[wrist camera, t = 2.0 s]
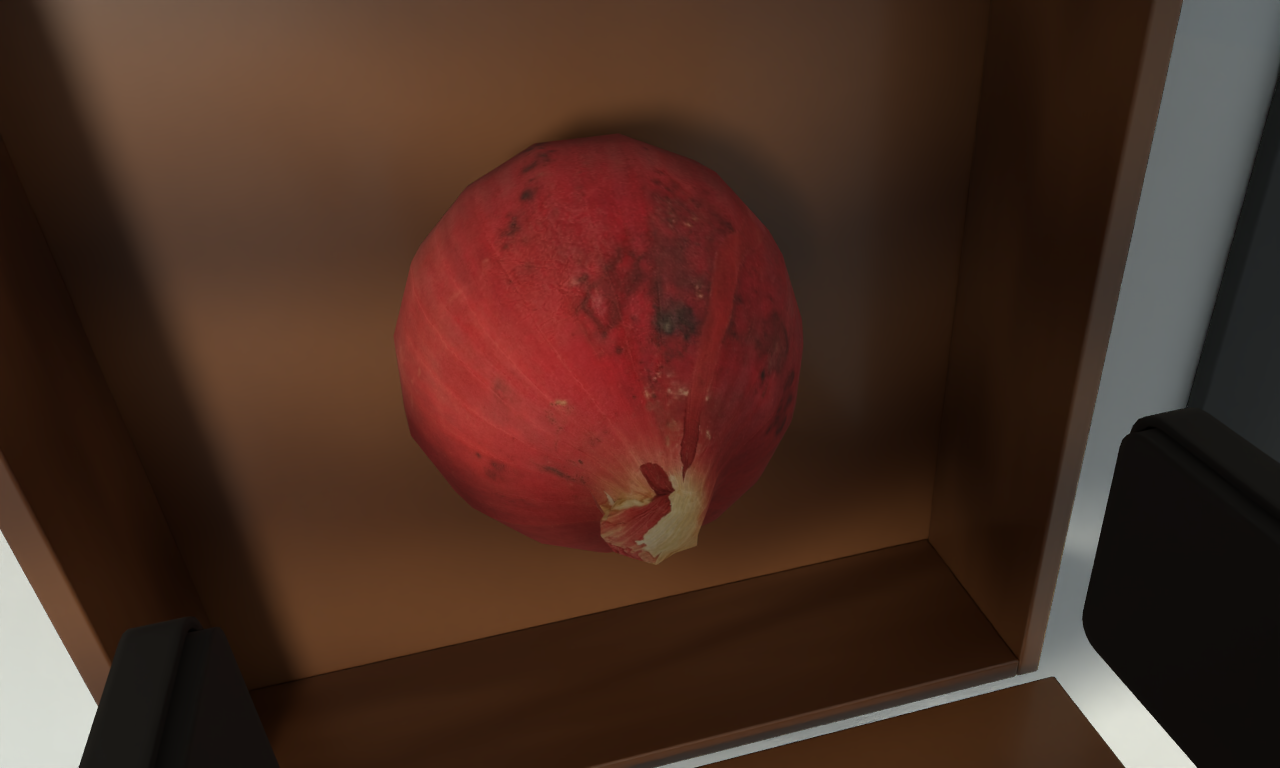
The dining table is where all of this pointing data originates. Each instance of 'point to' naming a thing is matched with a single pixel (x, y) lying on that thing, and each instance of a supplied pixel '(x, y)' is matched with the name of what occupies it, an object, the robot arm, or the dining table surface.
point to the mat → (1249, 312)
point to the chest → (370, 383)
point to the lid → (957, 737)
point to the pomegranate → (600, 346)
